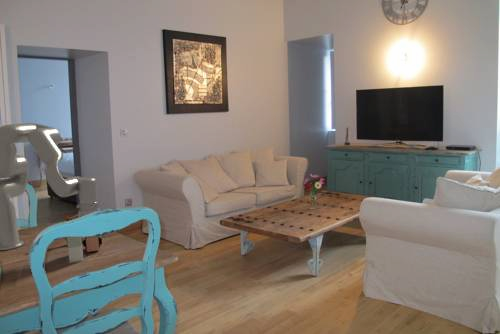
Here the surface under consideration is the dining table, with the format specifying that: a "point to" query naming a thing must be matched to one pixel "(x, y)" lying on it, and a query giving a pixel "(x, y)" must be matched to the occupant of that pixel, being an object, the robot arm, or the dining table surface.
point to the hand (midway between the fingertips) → (92, 246)
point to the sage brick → (74, 242)
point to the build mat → (77, 261)
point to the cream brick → (76, 254)
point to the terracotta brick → (92, 243)
